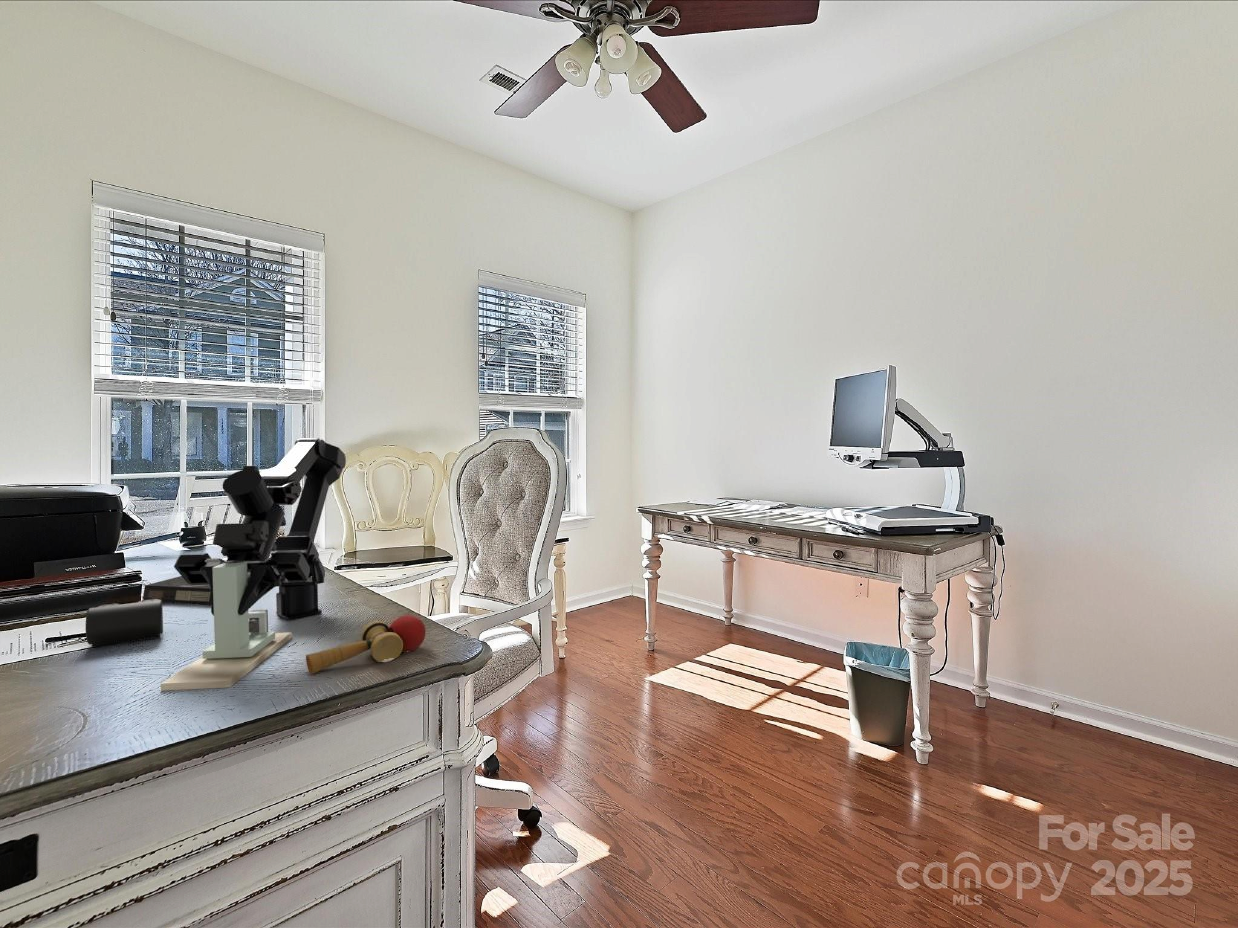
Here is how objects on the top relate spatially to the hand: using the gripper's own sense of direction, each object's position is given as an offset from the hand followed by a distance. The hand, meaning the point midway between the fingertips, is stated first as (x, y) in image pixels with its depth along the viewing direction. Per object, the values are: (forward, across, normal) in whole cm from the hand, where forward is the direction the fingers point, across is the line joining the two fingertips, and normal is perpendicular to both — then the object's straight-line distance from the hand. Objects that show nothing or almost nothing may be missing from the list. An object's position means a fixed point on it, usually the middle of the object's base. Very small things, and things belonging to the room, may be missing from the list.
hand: (226, 614), depth 92 cm
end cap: (-4, -23, +16) cm, 29 cm away
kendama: (+6, +21, +6) cm, 23 cm away
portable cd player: (-26, -27, +39) cm, 54 cm away
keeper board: (+4, 0, +7) cm, 8 cm away
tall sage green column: (+2, 0, +8) cm, 8 cm away
